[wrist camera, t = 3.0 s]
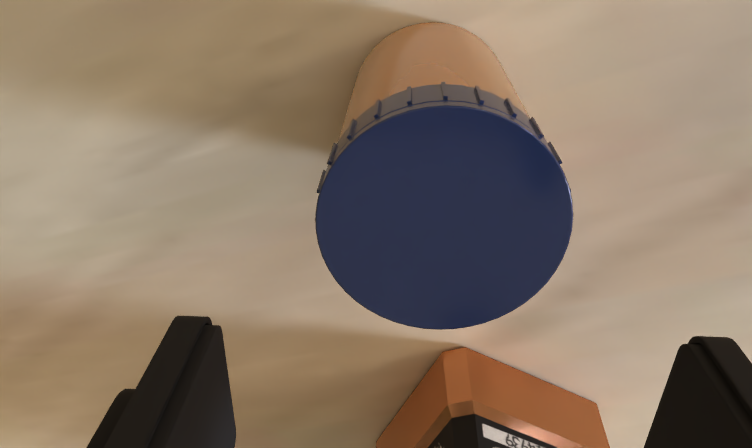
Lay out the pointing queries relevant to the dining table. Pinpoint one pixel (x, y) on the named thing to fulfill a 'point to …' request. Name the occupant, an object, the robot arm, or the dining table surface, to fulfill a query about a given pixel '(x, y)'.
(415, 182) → the jar lid
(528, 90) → the dining table surface
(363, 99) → the honey jar
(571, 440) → the whiskey bottle
